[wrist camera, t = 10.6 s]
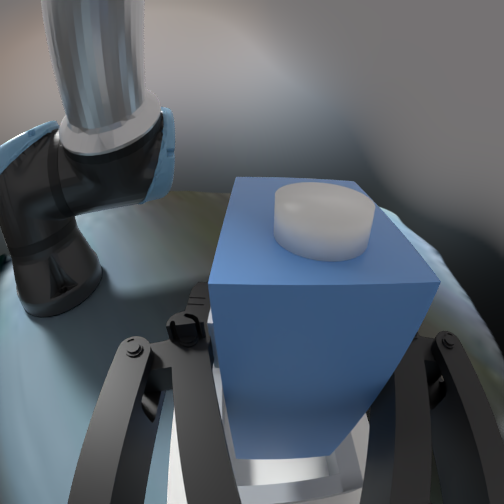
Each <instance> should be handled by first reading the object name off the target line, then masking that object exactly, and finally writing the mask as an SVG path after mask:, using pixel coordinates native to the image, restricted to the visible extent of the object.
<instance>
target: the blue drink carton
mask: <svg viewBox="0 0 504 504" xmlns="http://www.w3.org/2000/svg"><path fill="white" fill-rule="evenodd" d="M440 282H441V281H440V280H439V278H438V277H437V276H436V274H435V273H434V272H433V270H432V269H431V268H430V267H429V265H428V264H427V263H426V261H425V260H424V259H423V258H422V256H421V255H420V254H419V253H418V251H417V250H416V249H415V248H414V246H413V245H412V244H411V243H410V242H409V240H408V239H407V238H406V237H405V236H404V235H403V233H402V232H401V231H400V230H399V229H398V228H397V226H396V225H395V224H394V223H393V222H392V221H391V220H390V219H389V217H388V216H387V215H386V214H385V213H384V212H383V211H382V210H381V209H380V208H379V207H378V206H377V204H376V203H375V202H374V201H373V200H372V199H371V198H370V197H369V196H368V195H367V194H366V193H365V192H364V191H363V190H362V189H361V188H360V187H359V186H358V185H357V184H356V183H355V182H353V181H340V180H326V179H307V178H280V177H236V179H235V183H234V186H233V190H232V193H231V197H230V201H229V204H228V208H227V211H226V215H225V219H224V223H223V226H222V230H221V234H220V238H219V242H218V245H217V249H216V253H215V257H214V261H213V265H212V269H211V273H210V277H209V281H208V289H209V297H210V305H211V313H212V320H213V327H214V335H215V342H216V348H217V355H218V362H219V368H220V374H221V380H222V386H223V392H224V398H225V404H226V409H227V415H228V420H229V426H230V431H231V436H232V441H233V446H234V451H235V456H236V459H296V458H310V457H321V456H329V455H331V454H332V453H333V452H334V450H335V449H336V448H337V447H338V446H339V445H340V444H341V442H342V441H343V440H344V439H345V438H346V437H347V435H348V434H349V433H350V432H351V431H352V429H353V428H354V427H355V426H356V424H357V423H358V422H359V421H360V419H361V418H362V417H363V415H364V414H365V413H366V411H367V410H368V409H369V407H370V406H371V405H372V403H373V402H374V400H375V399H376V398H377V396H378V395H379V393H380V392H381V390H382V389H383V388H384V386H385V385H386V383H387V382H388V380H389V379H390V377H391V375H392V374H393V372H394V371H395V369H396V368H397V366H398V364H399V363H400V361H401V359H402V358H403V356H404V354H405V353H406V351H407V349H408V347H409V346H410V344H411V342H412V340H413V338H414V337H415V335H416V333H417V331H418V329H419V327H420V325H421V323H422V321H423V319H424V317H425V315H426V313H427V311H428V309H429V307H430V305H431V303H432V301H433V298H434V296H435V294H436V292H437V289H438V287H439V285H440Z"/></svg>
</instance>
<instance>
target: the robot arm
mask: <svg viewBox="0 0 504 504" xmlns="http://www.w3.org/2000/svg"><path fill="white" fill-rule="evenodd" d="M144 1H145V0H41V5H42V13H43V21H44V27H45V33H46V39H47V44H48V49H49V53H50V58H51V62H52V67H53V71H54V74H55V78H56V82H57V86H58V90H59V93H60V97H61V100H62V103H63V106H64V110H65V113H66V115H65V116H64V118H63V120H62V122H61V124H60V126H59V125H58V123H57V122H56V121H50V122H47V123H44V124H41V125H39V126H37V127H35V128H33V129H31V130H28V131H26V132H24V133H22V134H20V135H18V136H16V137H14V138H12V139H11V140H9V141H7V142H6V143H4V144H3V145H1V146H0V228H1V230H2V233H3V236H4V239H5V242H6V244H7V247H8V250H9V252H10V255H11V258H12V263H13V270H14V276H15V281H16V289H17V295H18V297H19V299H20V301H21V303H22V305H23V307H24V309H25V310H26V311H27V312H28V313H30V314H32V315H34V316H40V317H47V316H53V315H57V314H60V313H63V312H65V311H68V310H70V309H72V308H73V307H75V306H77V305H78V304H80V303H81V302H82V301H84V300H85V299H86V298H87V297H88V296H89V295H90V294H91V293H92V292H93V291H94V290H95V288H96V287H97V286H98V284H99V282H100V280H101V276H102V269H101V265H100V262H99V259H98V257H97V254H96V253H95V252H94V251H93V249H92V248H91V247H90V245H89V244H88V242H87V241H86V239H85V238H84V236H83V234H82V233H81V231H80V230H79V228H78V226H77V223H76V220H75V216H77V215H81V214H85V213H90V212H96V211H101V210H106V209H112V208H117V207H123V206H129V205H135V204H143V203H145V202H146V201H151V200H155V199H160V198H162V197H164V196H165V195H167V194H168V192H169V191H170V188H171V186H172V182H173V174H174V164H175V155H174V149H175V126H174V118H173V113H172V111H171V110H170V109H169V108H164V107H161V104H160V101H159V98H158V97H157V96H156V94H154V93H153V92H152V91H150V90H149V89H146V88H145V66H144ZM166 328H167V331H168V335H169V338H170V339H168V340H166V341H162V342H156V343H150V344H149V341H148V340H146V339H145V338H143V337H140V336H133V337H130V338H127V339H125V340H124V341H123V342H121V344H120V345H119V347H118V349H117V352H116V354H115V356H114V359H113V361H112V364H111V366H110V369H109V371H108V374H107V376H106V379H105V382H104V384H103V387H102V390H101V392H100V395H99V398H98V400H97V403H96V406H95V409H94V412H93V415H92V418H91V421H90V424H89V427H88V430H87V433H86V436H85V439H84V442H83V446H82V449H81V453H80V456H79V459H78V463H77V467H76V470H75V474H74V478H73V482H72V486H71V491H70V495H69V499H68V504H144V499H145V493H146V487H147V481H148V475H149V470H150V464H151V459H152V454H153V448H154V443H155V438H156V434H157V429H158V424H159V419H160V415H161V410H162V406H163V401H164V397H165V393H166V390H171V389H173V397H174V409H175V420H176V430H177V439H178V448H179V455H180V463H181V470H182V476H183V482H184V488H185V494H186V500H187V504H242V503H241V499H240V495H239V492H238V488H237V484H236V480H235V476H234V472H233V468H232V464H231V459H230V455H229V451H228V446H227V442H226V437H225V433H224V428H223V423H222V418H221V413H220V408H219V403H218V398H217V393H216V387H215V382H214V376H213V364H214V366H215V368H219V362H218V355H217V348H216V342H215V335H214V327H213V320H212V313H211V305H210V297H209V289H208V282H198V283H197V284H196V285H195V286H194V287H193V288H192V290H191V293H190V296H189V299H188V303H187V306H186V309H185V311H183V312H179V313H176V314H174V315H173V316H171V317H170V318H169V320H168V321H167V324H166ZM441 375H442V376H443V378H444V381H443V380H442V378H441ZM432 449H433V453H434V457H435V462H436V466H437V471H438V476H439V481H440V486H441V492H442V498H443V504H504V444H503V441H502V438H501V435H500V432H499V429H498V426H497V423H496V420H495V417H494V415H493V412H492V410H491V407H490V404H489V402H488V399H487V397H486V395H485V392H484V390H483V388H482V385H481V383H480V381H479V379H478V376H477V374H476V372H475V370H474V368H473V366H472V364H471V362H470V360H469V358H468V356H467V354H466V352H465V350H464V348H463V346H462V344H461V342H460V340H459V339H458V338H457V336H455V335H454V334H453V333H451V332H448V331H442V332H439V333H438V334H437V336H436V337H435V339H433V338H427V337H422V336H419V334H418V332H417V333H416V335H415V337H414V338H413V340H412V342H411V344H410V346H409V347H408V349H407V351H406V353H405V354H404V356H403V358H402V359H401V361H400V363H399V364H398V366H397V368H396V369H395V371H394V372H393V374H392V375H391V377H390V379H389V380H388V382H387V383H386V385H385V386H384V388H383V389H382V390H381V392H380V393H379V395H378V396H377V398H376V399H375V400H374V402H373V403H372V405H371V411H370V427H369V439H368V449H367V458H366V466H365V473H364V480H363V486H362V492H361V498H360V503H359V504H431V502H430V488H431V467H432Z"/></svg>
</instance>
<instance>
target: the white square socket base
mask: <svg viewBox="0 0 504 504" xmlns="http://www.w3.org/2000/svg"><path fill="white" fill-rule="evenodd" d="M213 376H214V382H215V387H216V393H217V398H218V403H219V408H220V413H221V418H222V423H223V428H224V433H225V437H226V442H227V446H228V451H229V455H230V459H231V464H232V468H233V472H234V476H235V480H236V484H237V488H238V492H239V495H240V499H241V503H242V504H359V503H360V498H361V492H362V486H363V480H364V473H365V466H366V458H367V449H368V439H369V427H370V425H369V422H368V419H367V415H366V413H365V414H364V415H363V417H362V418H361V419H360V421H359V422H358V423H357V424H356V426H355V427H354V428H353V429H352V431H351V432H350V433H349V434H348V435H347V437H346V438H345V439H344V440H343V441H342V442H341V444H340V445H339V446H338V447H337V448H336V449H335V450H334V452H333V453H332V454H331V455H329V456H321V457H310V458H296V459H236V456H235V451H234V446H233V441H232V436H231V431H230V426H229V420H228V415H227V409H226V404H225V398H224V392H223V386H222V380H221V374H220V368H215V366H214V364H213ZM167 504H187V500H186V494H185V488H184V482H183V476H182V470H181V463H180V455H179V448H178V439H177V430H176V420H175V409H174V414H173V424H172V435H171V446H170V459H169V473H168V492H167Z"/></svg>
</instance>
